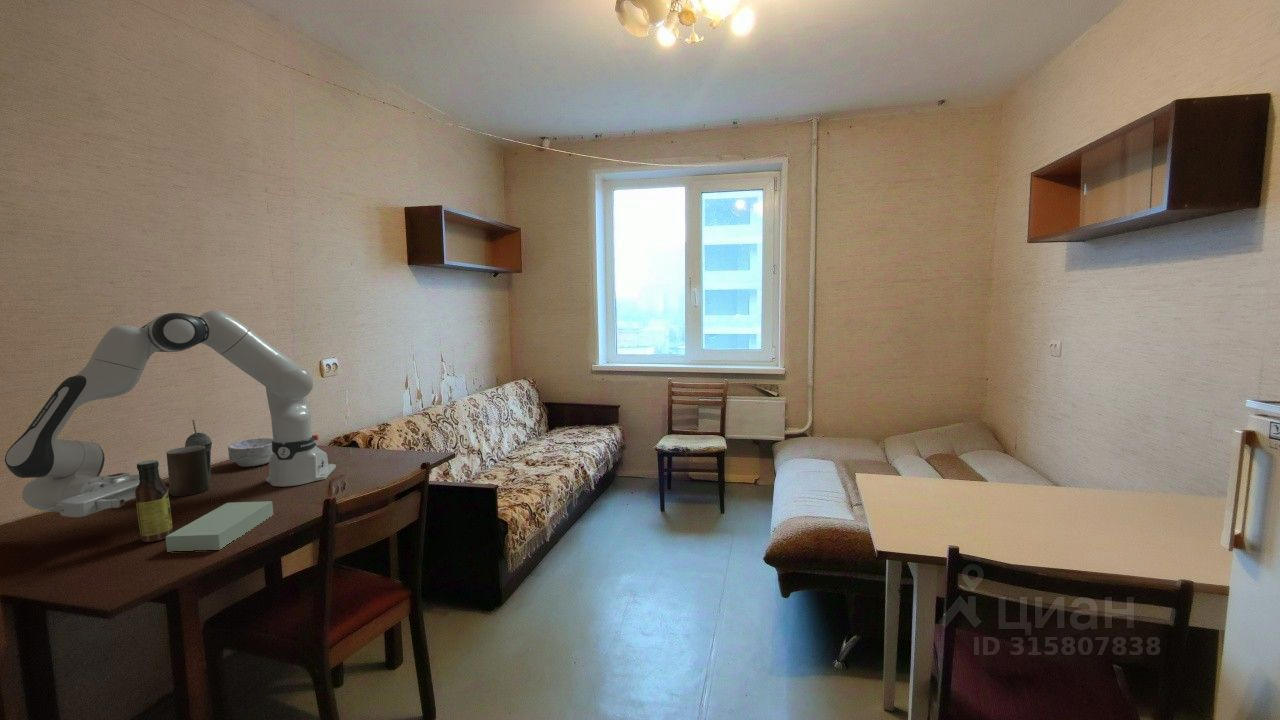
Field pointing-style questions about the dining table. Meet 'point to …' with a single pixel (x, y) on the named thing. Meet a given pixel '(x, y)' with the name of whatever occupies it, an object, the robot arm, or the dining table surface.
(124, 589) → the dining table surface
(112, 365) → the robot arm
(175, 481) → the pillar candle
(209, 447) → the beverage cup
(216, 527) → the pale green rectangular block
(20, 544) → the dining table surface
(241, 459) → the paper bowls
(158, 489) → the sauce bottle
